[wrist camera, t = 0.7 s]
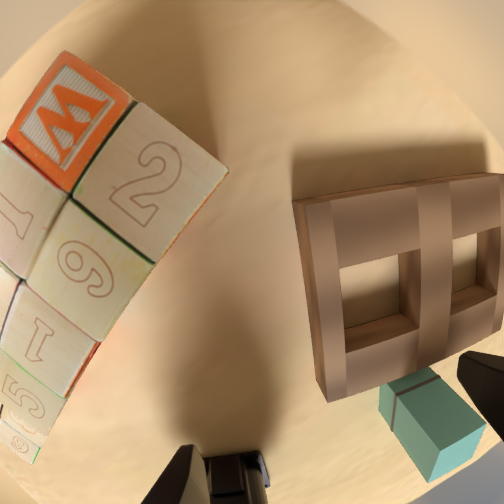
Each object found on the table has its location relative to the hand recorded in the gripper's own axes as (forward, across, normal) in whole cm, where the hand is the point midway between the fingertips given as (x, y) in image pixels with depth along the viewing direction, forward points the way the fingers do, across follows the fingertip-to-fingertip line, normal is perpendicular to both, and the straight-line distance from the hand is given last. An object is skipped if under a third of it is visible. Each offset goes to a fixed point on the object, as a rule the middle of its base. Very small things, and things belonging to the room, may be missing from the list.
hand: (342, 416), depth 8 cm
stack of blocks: (+14, +12, -4) cm, 18 cm away
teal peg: (+13, -10, +13) cm, 21 cm away
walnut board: (+13, -11, +2) cm, 17 cm away
